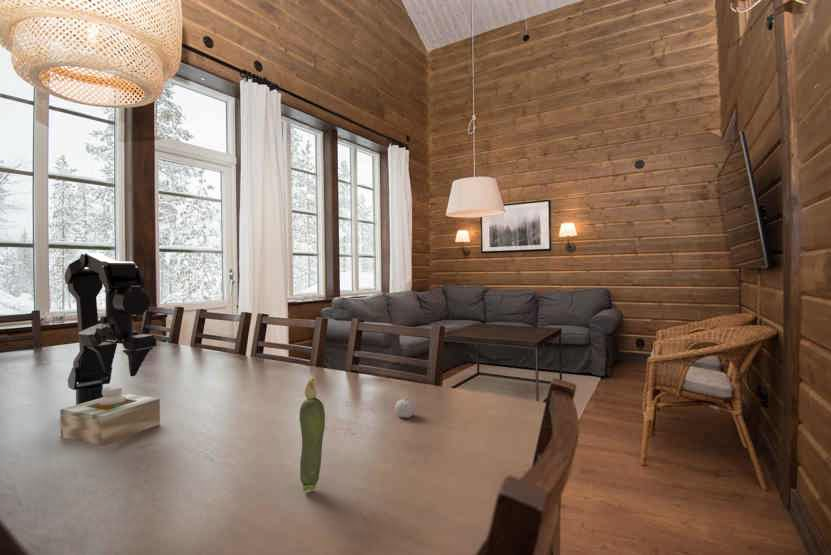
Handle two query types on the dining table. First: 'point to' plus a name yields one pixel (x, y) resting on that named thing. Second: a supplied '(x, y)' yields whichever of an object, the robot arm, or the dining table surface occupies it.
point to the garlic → (405, 408)
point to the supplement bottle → (112, 398)
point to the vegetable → (311, 437)
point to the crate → (109, 419)
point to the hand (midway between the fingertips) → (119, 374)
